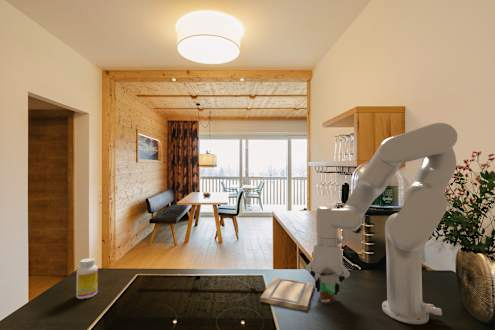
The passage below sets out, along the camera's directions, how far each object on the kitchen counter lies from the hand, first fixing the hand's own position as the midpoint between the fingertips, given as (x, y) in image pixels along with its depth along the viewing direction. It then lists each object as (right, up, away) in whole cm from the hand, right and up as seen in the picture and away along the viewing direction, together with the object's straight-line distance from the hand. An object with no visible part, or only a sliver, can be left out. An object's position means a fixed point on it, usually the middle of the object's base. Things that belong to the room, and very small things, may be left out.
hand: (327, 291), depth 90 cm
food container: (+1, -2, 0) cm, 3 cm away
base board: (-13, -2, +3) cm, 14 cm away
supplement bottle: (-88, -3, +3) cm, 88 cm away
